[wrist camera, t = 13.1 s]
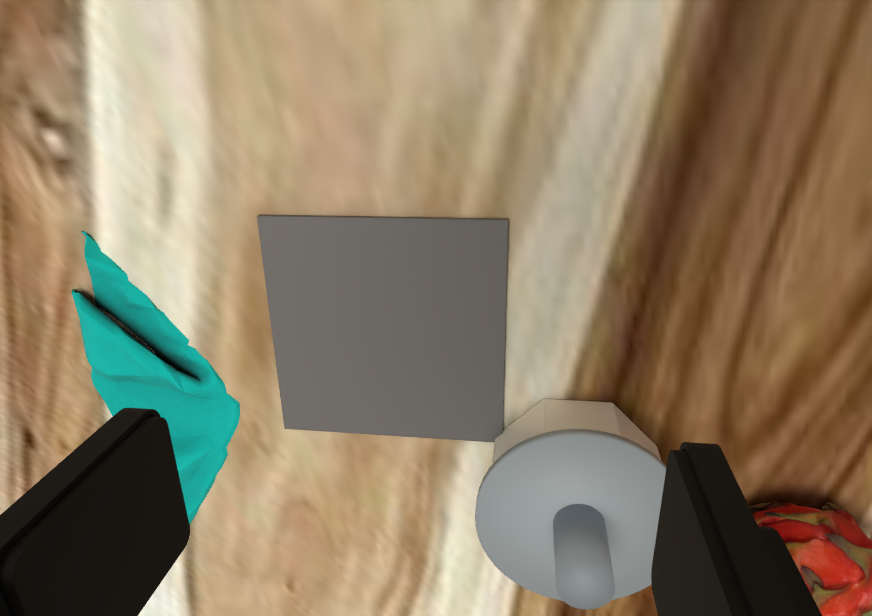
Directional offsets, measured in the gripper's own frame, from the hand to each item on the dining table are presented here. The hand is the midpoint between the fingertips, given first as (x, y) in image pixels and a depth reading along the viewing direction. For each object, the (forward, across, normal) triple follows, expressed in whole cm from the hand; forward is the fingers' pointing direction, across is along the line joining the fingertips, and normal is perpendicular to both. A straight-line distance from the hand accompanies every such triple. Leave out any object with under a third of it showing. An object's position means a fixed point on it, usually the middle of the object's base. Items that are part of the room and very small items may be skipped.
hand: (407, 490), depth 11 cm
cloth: (+29, +25, +16) cm, 42 cm away
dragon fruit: (+29, -21, +24) cm, 43 cm away
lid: (+23, -6, +20) cm, 31 cm away
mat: (+28, +7, +10) cm, 31 cm away
